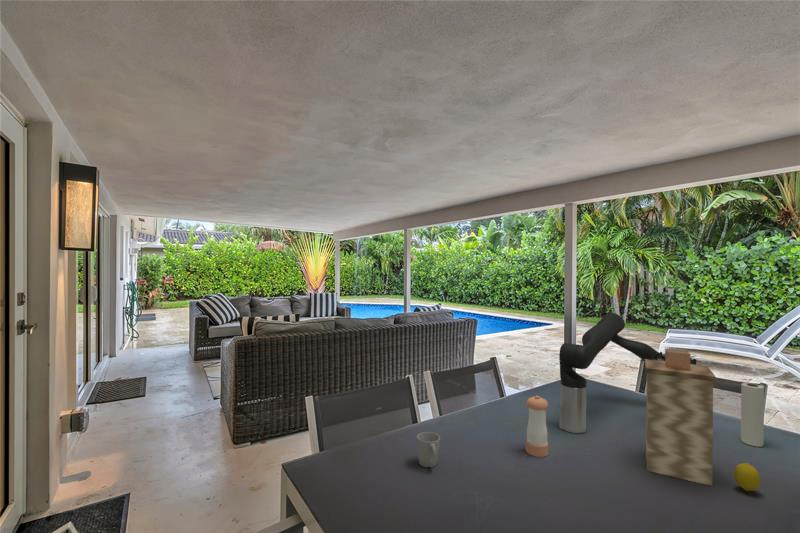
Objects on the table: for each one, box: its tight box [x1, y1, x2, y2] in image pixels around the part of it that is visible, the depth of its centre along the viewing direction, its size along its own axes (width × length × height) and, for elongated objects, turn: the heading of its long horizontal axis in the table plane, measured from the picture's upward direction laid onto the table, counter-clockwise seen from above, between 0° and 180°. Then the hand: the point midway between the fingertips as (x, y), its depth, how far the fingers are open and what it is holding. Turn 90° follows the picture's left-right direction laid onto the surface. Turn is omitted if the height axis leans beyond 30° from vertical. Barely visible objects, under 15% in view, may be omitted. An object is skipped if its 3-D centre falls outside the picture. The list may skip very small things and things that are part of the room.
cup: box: [415, 431, 441, 468], centre depth 122 cm, size 8×10×8 cm
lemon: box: [733, 462, 761, 493], centre depth 110 cm, size 6×6×8 cm
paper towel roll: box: [740, 382, 765, 448], centre depth 140 cm, size 7×6×21 cm
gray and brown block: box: [664, 348, 691, 370], centre depth 129 cm, size 6×22×5 cm, turn 149°
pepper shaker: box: [525, 395, 549, 458], centre depth 132 cm, size 7×7×19 cm
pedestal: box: [644, 359, 717, 487], centre depth 122 cm, size 17×15×32 cm
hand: (674, 356), depth 149 cm, fingers open, 8 cm apart
